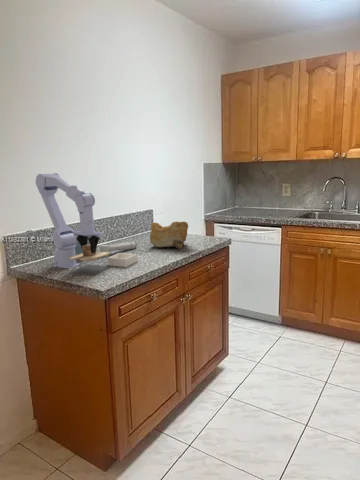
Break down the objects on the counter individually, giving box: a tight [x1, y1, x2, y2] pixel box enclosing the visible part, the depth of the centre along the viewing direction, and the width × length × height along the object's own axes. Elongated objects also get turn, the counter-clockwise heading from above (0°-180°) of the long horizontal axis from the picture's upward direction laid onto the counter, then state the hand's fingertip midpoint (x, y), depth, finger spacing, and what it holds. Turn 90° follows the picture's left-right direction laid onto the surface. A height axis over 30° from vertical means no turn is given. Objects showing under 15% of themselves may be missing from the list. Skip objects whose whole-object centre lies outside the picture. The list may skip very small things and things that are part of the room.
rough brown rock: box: [149, 221, 189, 250], centre depth 204 cm, size 23×17×15 cm
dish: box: [107, 252, 139, 268], centre depth 171 cm, size 10×10×4 cm
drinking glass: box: [75, 236, 90, 255], centre depth 184 cm, size 10×10×12 cm
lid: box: [68, 244, 112, 262], centre depth 160 cm, size 13×13×5 cm
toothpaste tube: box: [97, 241, 138, 258], centre depth 194 cm, size 5×7×25 cm
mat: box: [68, 264, 113, 277], centre depth 162 cm, size 14×14×1 cm
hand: (89, 252), depth 161 cm, fingers closed on lid, 4 cm apart
